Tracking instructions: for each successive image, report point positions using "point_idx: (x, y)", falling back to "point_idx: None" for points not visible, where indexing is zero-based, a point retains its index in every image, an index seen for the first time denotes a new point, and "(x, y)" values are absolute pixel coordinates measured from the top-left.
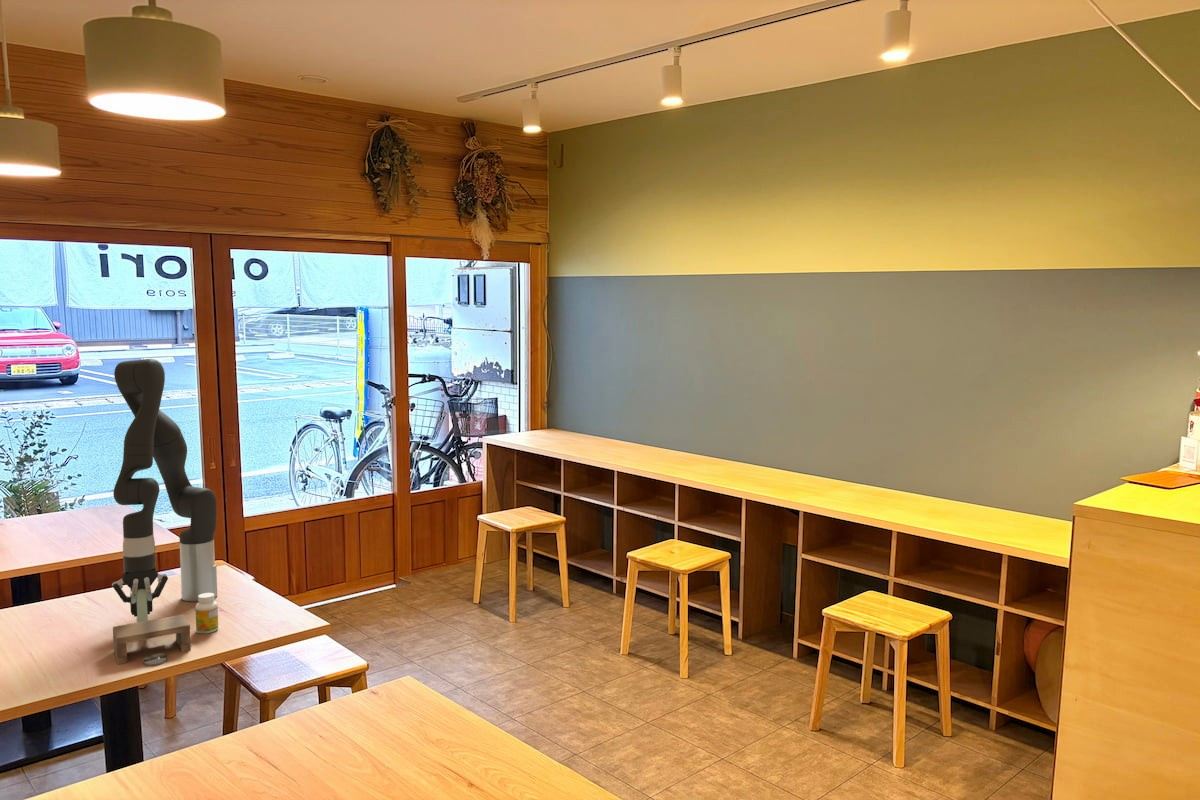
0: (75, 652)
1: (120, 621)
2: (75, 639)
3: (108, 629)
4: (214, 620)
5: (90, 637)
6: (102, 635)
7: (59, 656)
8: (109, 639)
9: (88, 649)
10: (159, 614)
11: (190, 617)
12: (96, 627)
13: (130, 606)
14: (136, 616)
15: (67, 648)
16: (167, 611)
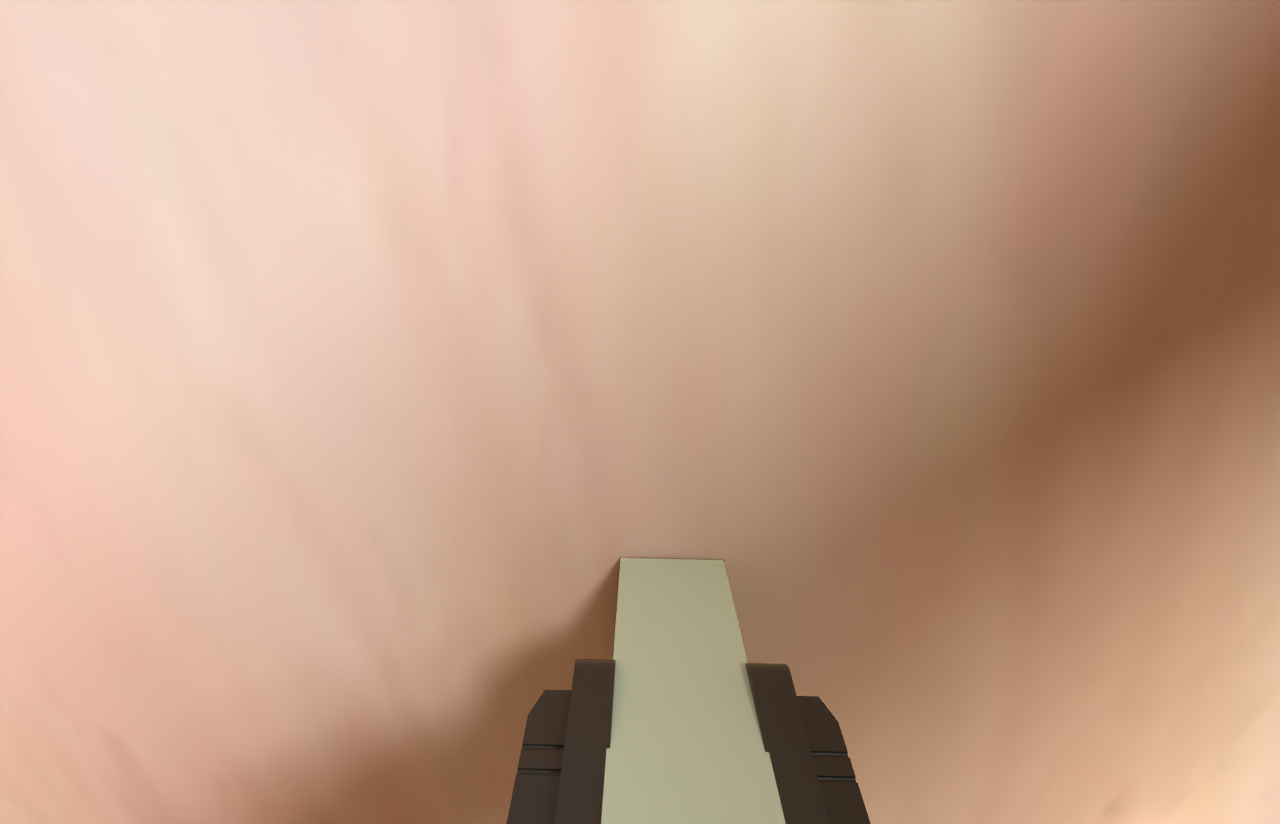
0: (130, 808)
1: (449, 187)
2: (19, 542)
3: (319, 427)
4: None
5: (166, 565)
6: (281, 573)
7: (26, 819)
8: (361, 697)
9: (219, 802)
10: (988, 191)
11: (1205, 539)
12: (153, 263)
13: (510, 816)
14: (614, 645)
15: (28, 712)
16: (1142, 106)
